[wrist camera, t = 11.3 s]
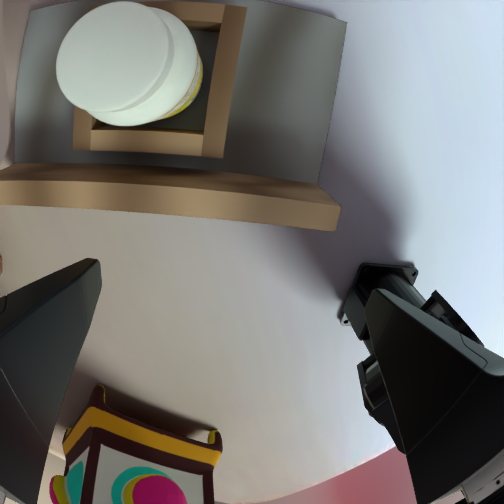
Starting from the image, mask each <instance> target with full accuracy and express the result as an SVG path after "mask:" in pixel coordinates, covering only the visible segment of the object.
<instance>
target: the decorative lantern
mask: <svg viewBox="0 0 504 504" xmlns="http://www.w3.org/2000/svg"><path fill="white" fill-rule="evenodd" d="M62 445H63V450H64V454H65V458H66V467H65V471H64V476H61V475H56V476H54V477H52V479H51V482H50V497H51V500H52V502H53V504H214V489H213V469H214V467H215V465H216V463H217V462H218V460H219V458H220V456H221V453H222V450H223V447H222V438H221V435H220V433H219V432H218V431H216V430H212V431H211V432H210V433H209V435H208V444H206V443H203V442H199V441H196V440H193V439H190V438H186V437H183V436H180V435H177V434H174V433H171V432H168V431H165V430H162V429H160V428H157V427H154V426H151V425H149V424H146V423H144V422H141V421H139V420H136V419H134V418H131V417H129V416H126V415H124V414H122V413H119V412H117V411H115V410H112V409H111V408H110V407H108V406H107V405H106V404H105V388H104V386H103V385H97V386H96V387H95V388H94V390H93V392H92V395H91V397H90V400H89V403H88V405H87V407H86V408H85V410H84V411H83V413H82V414H81V415H80V417H79V418H78V420H77V421H76V423H75V424H74V426H73V427H72V428H68V429H67V430H66V432H65V434H64V438H63V441H62Z"/></svg>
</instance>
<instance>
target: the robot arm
mask: <svg viewBox="0 0 504 504" xmlns="http://www.w3.org/2000/svg"><path fill="white" fill-rule="evenodd" d="M365 268H366V270H364V269H365ZM363 270H364V271H363ZM413 272H414V273H413ZM412 273H413V274H412ZM417 275H418V270H417V269H416V268H415V267H407V266H395V265H384V264H372V263H363V264H361V265H360V267H359V269H358V272H357V275H356V278H355V280H354V283H353V286H352V287H351V289H350V292H349V294H348V297H347V300H346V302H345V305H344V308H343V312H342V315H341V317H340V323H341V325H343V326H352V328H353V329H354V331H355V333H356V335H357V337H358V339H359V340H363V341H364V343H365V345H366V347H367V349H368V351H369V353H370V356H369V357H368V358H367V359H365V360H364V361H362V362H360V363H359V364H358V365H357V369H358V374H359V379H360V385H361V390H362V395H363V400H364V406H365V408H366V409H367V410H368V413H369V415H370V416H371V417H373V418H374V419H375V420H376V421H377V422H378V423H379V424H381V425H382V426H384V427H385V428H386V429H387V430H388V432H389V434H390V435H391V437H392V439H393V441H394V443H395V445H396V446H397V448H398V450H399V451H400V452H402V453H404V454H406V458H407V462H408V466H409V470H410V474H411V478H412V482H413V487H414V491H415V495H416V501H417V504H434V503H436V502H438V501H440V500H443V499H444V498H447V497H449V496H451V495H453V494H455V493H457V492H459V491H461V492H462V493H463V495H464V496H465V498H464V499H462V500H460V501H459V502H457V503H455V504H504V358H502V357H501V356H499V355H497V354H495V353H493V352H492V351H490V350H488V349H486V348H484V345H483V343H482V342H481V341H480V340H479V338H478V337H477V336H476V335H475V333H474V332H473V331H472V330H471V328H470V327H469V326H468V325H467V324H466V323H465V321H464V320H463V319H462V318H461V317H460V316H459V315H458V313H457V312H456V311H455V310H454V309H453V308H452V307H451V306H450V305H449V303H448V302H447V301H446V300H445V299H444V298H443V297H442V296H441V295H440V294H439V293H438V292H437V291H436V290H435V291H434V292H433V293H432V294H431V295H432V296H431V297H430V298H429V299H428V300H427V301H426V300H425V299H424V298H423V296H422V295H421V294H420V293H419V292H418V291H417V290H416V288H415V287H414V286H413V285H414V282H415V280H416V278H417ZM101 287H102V279H101V268H100V262H99V260H98V259H92V258H86V259H83V260H81V261H79V262H77V263H74V264H72V265H70V266H67V267H65V268H63V269H61V270H58V271H56V272H54V273H52V274H50V275H47V276H45V277H43V278H41V279H39V280H37V281H34V282H32V283H30V284H28V285H26V286H24V287H22V288H20V289H18V290H16V291H13V292H11V293H9V294H7V296H3V297H1V298H0V504H4V502H5V498H6V497H7V498H9V499H11V500H13V501H15V502H17V503H19V504H37V500H38V495H39V490H40V484H41V480H42V475H43V470H44V466H45V462H46V458H47V454H48V450H49V447H48V446H49V445H50V441H51V438H52V434H53V431H54V427H55V424H56V420H57V417H58V414H59V410H60V407H61V404H62V401H63V398H64V395H65V392H66V389H67V386H68V383H69V380H70V378H71V375H72V372H73V369H74V366H75V364H76V361H77V358H78V356H79V353H80V351H81V348H82V346H83V343H84V341H85V338H86V336H87V333H88V331H89V328H90V325H91V321H92V318H93V314H94V311H95V308H96V304H97V301H98V298H99V295H100V292H101ZM345 320H346V321H345Z"/></svg>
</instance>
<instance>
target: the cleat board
mask: <svg viewBox="0 0 504 504" xmlns="http://www.w3.org/2000/svg"><path fill="white" fill-rule="evenodd" d="M118 1H129V2H135V3H139V4H142V5H144V6H146V7H153V8H158V9H161V10H164V11H167V12H169V13H171V14H172V15H174V16H176V17H177V18H178V19H180V20H181V21H182V22H183V23H184V24H185V25H186V27H187V28H188V29H189V31H190V33H191V35H192V37H193V39H194V41H195V44H196V47H197V50H198V53H199V56H200V58H201V60H202V64H203V74H204V75H203V82H202V86H201V89H200V91H199V93H198V95H197V97H196V98H195V99H194V101H193V102H192V103H191V104H190V105H189V106H188V107H187V108H185V109H184V110H183V111H181V112H180V113H178V114H176V115H173V116H171V117H168V118H165V119H160V120H156V121H152V122H149V123H144V124H140V125H135V126H117V125H111V124H108V123H105V122H102V121H100V120H98V119H96V118H95V117H93V116H92V115H91V114H89V113H88V112H87V111H86V110H84V109H81V108H79V107H77V106H75V105H74V104H73V103H71V102H70V101H69V100H68V99H67V98H66V97H65V95H64V94H63V92H62V91H61V89H60V86H59V83H58V81H57V75H56V61H57V55H58V52H59V48H60V46H61V43H62V41H63V39H64V38H65V36H66V34H67V33H68V31H69V30H70V29H71V28H72V27H73V25H74V24H75V23H76V22H77V21H78V20H79V19H80V18H82V17H83V16H84V15H85V14H87V13H88V12H90V11H91V10H93V9H95V8H97V7H99V6H102V5H105V4H108V3H112V2H118ZM346 26H347V22H344V21H341V20H338V19H335V18H332V17H329V16H325V15H322V14H318V13H315V12H311V11H307V10H303V9H299V8H295V7H290V6H286V5H281V4H276V3H271V2H266V1H260V0H77V1H71V2H66V3H61V4H57V5H52V6H48V7H44V8H40V9H36V10H32V11H30V14H29V18H28V23H27V27H26V32H25V37H24V42H23V47H22V53H21V59H20V66H19V74H18V83H17V93H16V106H15V133H14V148H15V164H13V165H11V166H9V167H7V168H4V169H2V170H0V205H24V206H46V207H65V208H82V209H98V210H113V211H128V212H141V213H154V214H166V215H178V216H190V217H201V218H212V219H222V220H233V221H243V222H253V223H262V224H272V225H281V226H290V227H299V228H307V229H316V230H324V231H333V232H335V230H336V226H337V222H338V219H339V215H340V211H341V206H340V205H339V204H338V203H337V202H336V201H335V200H334V199H333V198H331V197H330V196H329V195H328V194H327V193H326V192H325V191H324V190H323V189H321V188H320V187H319V186H318V185H317V182H318V178H319V173H320V168H321V164H322V159H323V154H324V149H325V145H326V140H327V135H328V130H329V125H330V120H331V114H332V109H333V104H334V98H335V93H336V87H337V82H338V76H339V70H340V64H341V58H342V52H343V46H344V39H345V33H346Z"/></svg>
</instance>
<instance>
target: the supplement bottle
mask: <svg viewBox="0 0 504 504" xmlns="http://www.w3.org/2000/svg"><path fill="white" fill-rule="evenodd" d="M56 75H57V81H58V83H59V86H60V89H61V91H62V92H63V94H64V95H65V97H66V98H67V99H68V100H69V101H70V102H71V103H73V104H74V105H75V106H77V107H79V108H81V109H84V110H86V111H87V112H88V113H89V114H91V115H92V116H93V117H95V118H96V119H98V120H100V121H102V122H105V123H108V124H111V125H117V126H135V125H140V124H144V123H149V122H152V121H156V120H160V119H165V118H168V117H171V116H173V115H176V114H178V113H180V112H181V111H183V110H184V109H185V108H187V107H188V106H189V105H190V104H191V103H192V102H193V101H194V99H195V98H196V97H197V95H198V93H199V91H200V89H201V86H202V82H203V75H204V74H203V64H202V60H201V58H200V56H199V53H198V50H197V47H196V44H195V41H194V39H193V37H192V35H191V33H190V31H189V29H188V28H187V27H186V25H185V24H184V23H183V22H182V21H181V20H180V19H178V18H177V17H176V16H174V15H172V14H171V13H169V12H167V11H164V10H161V9H158V8H153V7H146V6H144V5H142V4H139V3H135V2H129V1H118V2H112V3H108V4H105V5H102V6H99V7H97V8H95V9H93V10H91V11H90V12H88V13H87V14H85V15H84V16H83V17H82V18H80V19H79V20H78V21H77V22H76V23H75V24H74V25H73V27H72V28H71V29H70V30H69V31H68V33H67V34H66V36H65V38H64V39H63V41H62V43H61V46H60V48H59V52H58V55H57V61H56Z"/></svg>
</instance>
